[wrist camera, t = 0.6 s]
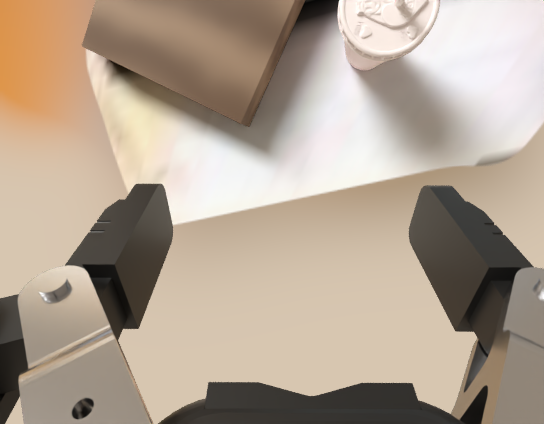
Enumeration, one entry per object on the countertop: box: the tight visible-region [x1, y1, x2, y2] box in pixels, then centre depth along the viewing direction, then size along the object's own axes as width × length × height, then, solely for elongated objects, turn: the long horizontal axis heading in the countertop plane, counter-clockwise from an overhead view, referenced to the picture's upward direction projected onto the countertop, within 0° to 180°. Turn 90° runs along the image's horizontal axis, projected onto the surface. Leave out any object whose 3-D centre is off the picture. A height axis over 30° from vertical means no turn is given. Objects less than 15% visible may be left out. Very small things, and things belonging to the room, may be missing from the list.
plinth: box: [82, 0, 305, 127], centre depth 30 cm, size 16×16×4 cm
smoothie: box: [337, 0, 440, 70], centre depth 24 cm, size 6×6×14 cm
